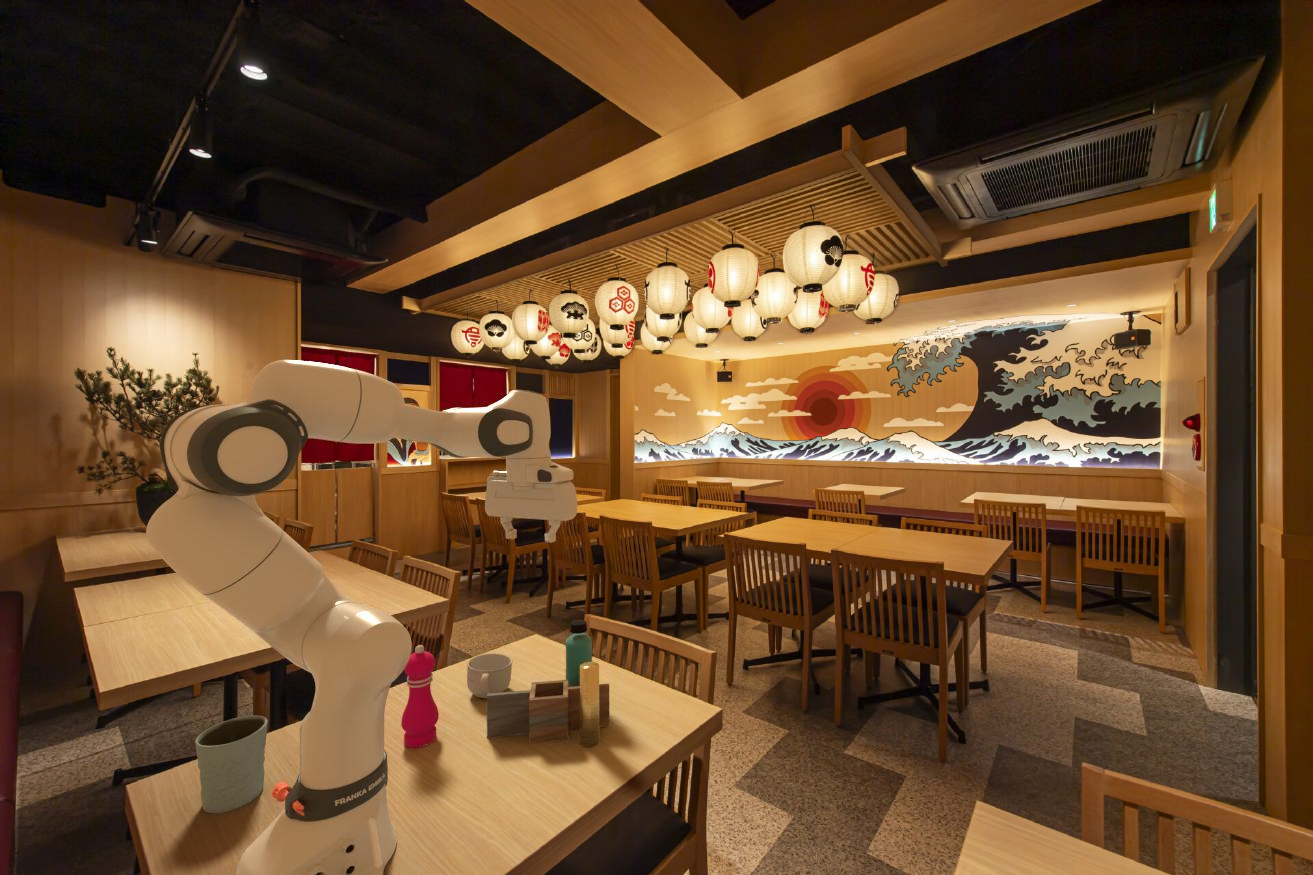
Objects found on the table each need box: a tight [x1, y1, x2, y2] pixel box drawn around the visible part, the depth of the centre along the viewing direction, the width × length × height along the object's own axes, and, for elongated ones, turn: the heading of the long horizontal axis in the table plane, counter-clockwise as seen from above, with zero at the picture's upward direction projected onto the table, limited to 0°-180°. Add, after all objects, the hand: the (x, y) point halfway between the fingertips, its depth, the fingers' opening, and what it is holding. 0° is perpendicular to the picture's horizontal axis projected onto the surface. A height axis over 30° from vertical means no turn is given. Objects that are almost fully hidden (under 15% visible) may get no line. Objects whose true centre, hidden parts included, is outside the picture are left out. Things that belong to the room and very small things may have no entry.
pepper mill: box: [400, 644, 440, 749], centre depth 112 cm, size 7×7×20 cm
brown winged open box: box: [486, 679, 611, 744], centre depth 115 cm, size 8×26×9 cm, turn 99°
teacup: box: [466, 652, 513, 699], centre depth 130 cm, size 14×11×8 cm
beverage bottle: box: [564, 619, 593, 687], centre depth 125 cm, size 6×7×20 cm
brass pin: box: [579, 661, 600, 749], centre depth 111 cm, size 4×4×16 cm
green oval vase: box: [195, 715, 268, 814], centre depth 94 cm, size 10×10×12 cm
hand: (530, 540), depth 106 cm, fingers open, 8 cm apart
